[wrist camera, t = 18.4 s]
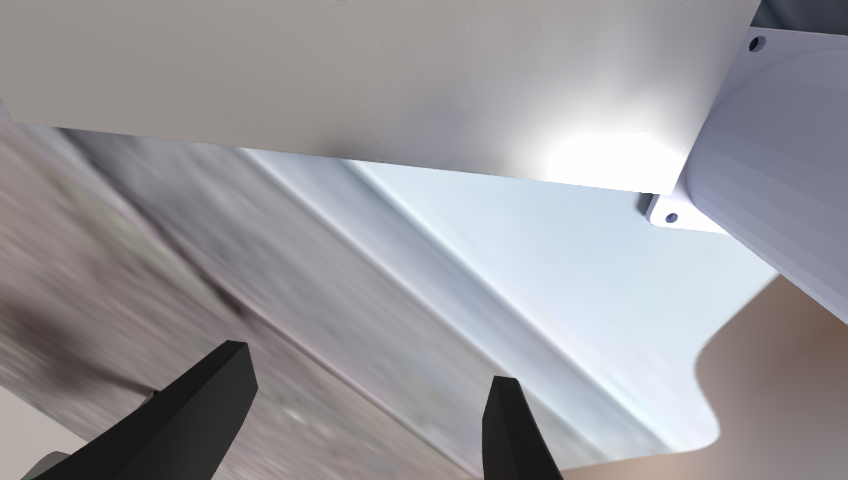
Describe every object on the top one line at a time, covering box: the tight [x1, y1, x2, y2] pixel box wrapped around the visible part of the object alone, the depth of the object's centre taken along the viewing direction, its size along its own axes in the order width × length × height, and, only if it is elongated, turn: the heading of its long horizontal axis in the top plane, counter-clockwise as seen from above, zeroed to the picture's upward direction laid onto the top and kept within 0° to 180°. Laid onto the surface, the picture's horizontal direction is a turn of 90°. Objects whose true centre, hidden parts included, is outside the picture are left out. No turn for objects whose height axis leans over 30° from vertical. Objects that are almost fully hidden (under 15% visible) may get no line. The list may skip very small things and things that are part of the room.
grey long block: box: [0, 0, 762, 195], centre depth 12 cm, size 20×6×6 cm, turn 85°
